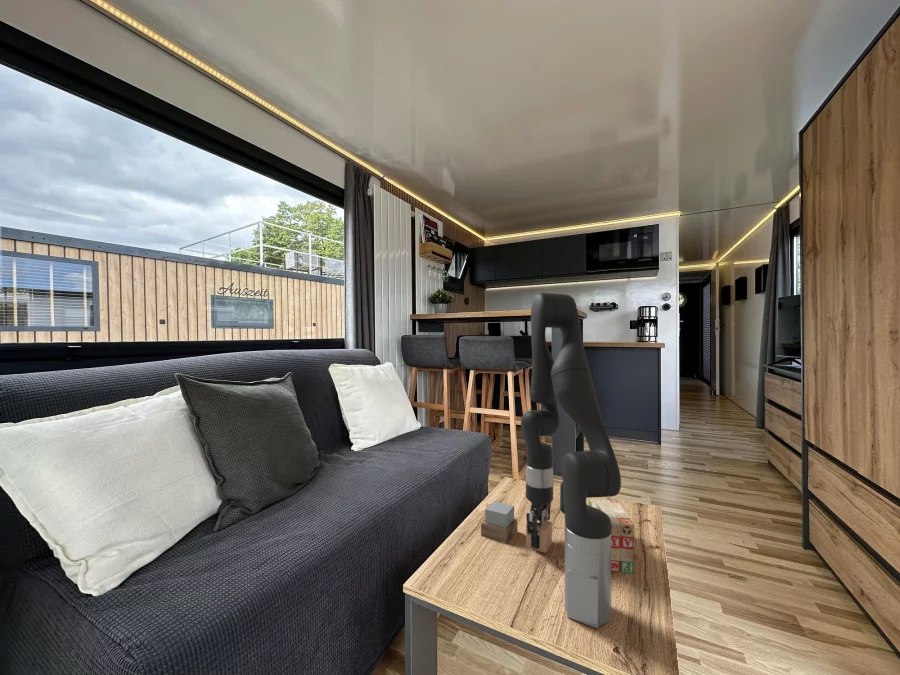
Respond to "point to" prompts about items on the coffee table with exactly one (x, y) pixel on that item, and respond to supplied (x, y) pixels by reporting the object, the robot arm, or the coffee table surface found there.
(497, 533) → the tower base block
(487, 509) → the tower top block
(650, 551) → the coffee table surface
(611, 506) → the stack of blocks
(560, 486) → the supplement bottle
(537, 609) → the coffee table surface
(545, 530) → the terracotta block
